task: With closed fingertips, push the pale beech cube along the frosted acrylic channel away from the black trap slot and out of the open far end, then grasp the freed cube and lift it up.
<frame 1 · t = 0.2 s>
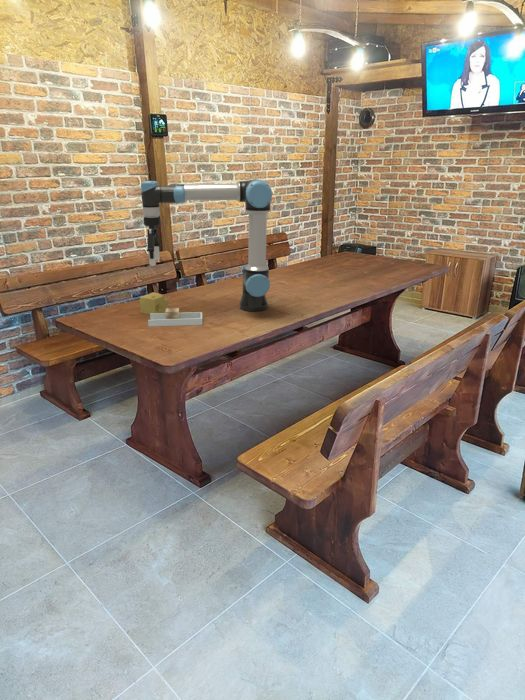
hand: (154, 262, 233), 27 cm above the table, fingers open, 13 cm apart
cheese: (155, 315, 248), on the table
channel: (175, 325, 232), on the table
block: (173, 322, 232), point 1 cm above the table, touching channel
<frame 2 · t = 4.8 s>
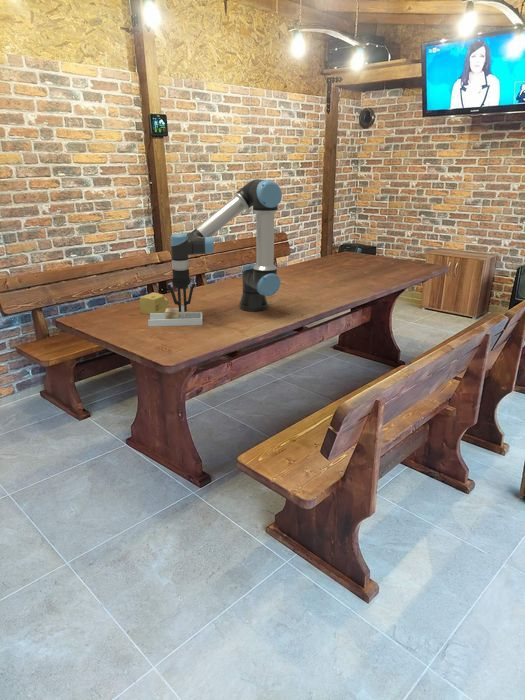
hand: (183, 318, 231), 3 cm above the table, fingers closed
block: (172, 322, 232), point 1 cm above the table, touching channel, gripper
everything else where it was.
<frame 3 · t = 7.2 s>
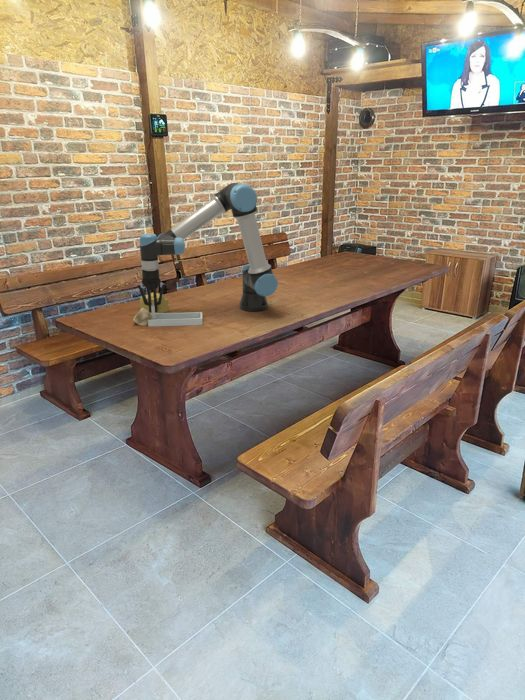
hand: (154, 318, 230), 3 cm above the table, fingers closed
block: (148, 321, 230), point 2 cm above the table, tilted 48°
everything else where it was.
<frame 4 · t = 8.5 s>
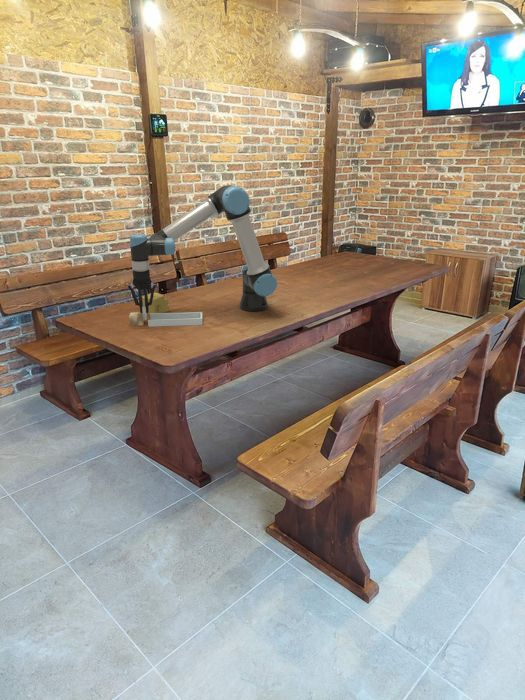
hand: (145, 319, 230), 3 cm above the table, fingers closed
block: (143, 320, 229), point 3 cm above the table, tilted 90°, touching gripper
everything else where it was.
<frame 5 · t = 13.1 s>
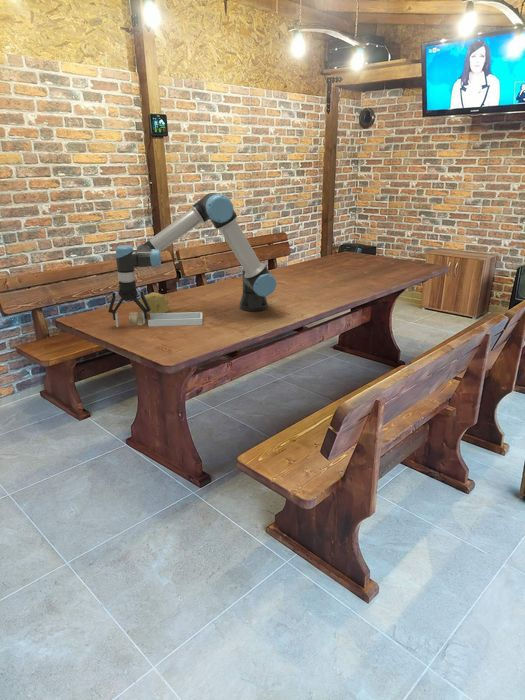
hand: (131, 326, 230), 0 cm above the table, fingers open, 11 cm apart
block: (143, 320, 229), point 3 cm above the table, tilted 90°
everything else where it was.
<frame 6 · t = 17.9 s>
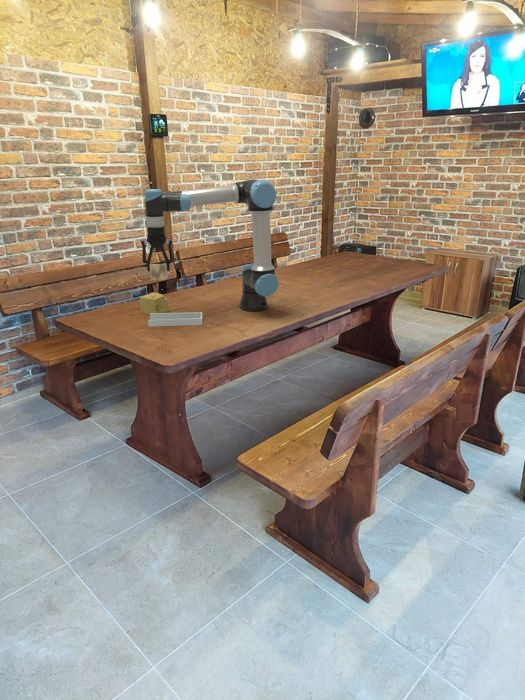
hand: (159, 277, 223), 23 cm above the table, fingers closed on block, 6 cm apart
block: (165, 271, 223), point 26 cm above the table, tilted 90°, touching gripper
everything else where it was.
at the end: the gripper is holding block; block point 25.6 cm above the table; block touching gripper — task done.
